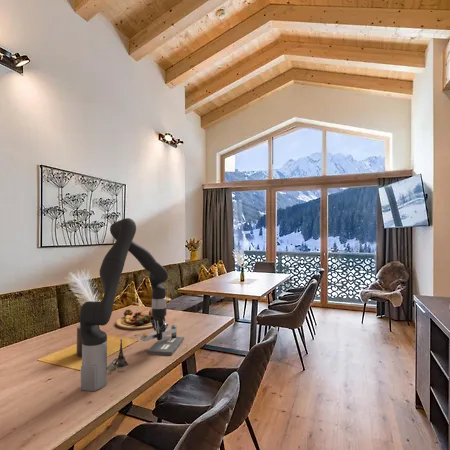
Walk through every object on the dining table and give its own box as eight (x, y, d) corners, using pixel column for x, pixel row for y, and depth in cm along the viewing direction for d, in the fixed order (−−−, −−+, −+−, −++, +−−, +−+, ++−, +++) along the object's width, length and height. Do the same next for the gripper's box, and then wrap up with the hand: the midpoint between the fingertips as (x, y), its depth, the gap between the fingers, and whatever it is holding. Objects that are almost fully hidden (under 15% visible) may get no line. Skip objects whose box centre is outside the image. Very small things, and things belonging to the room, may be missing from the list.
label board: (172, 355, 154) (172, 351, 154) (147, 353, 155) (147, 350, 155) (184, 339, 175) (184, 336, 175) (162, 338, 177) (162, 335, 177)
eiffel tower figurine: (115, 359, 151) (115, 331, 151) (136, 359, 150) (136, 331, 151) (102, 373, 136) (102, 342, 136) (125, 373, 135) (125, 342, 136)
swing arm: (144, 347, 159) (144, 335, 159) (140, 345, 162) (140, 333, 162) (178, 337, 174) (178, 325, 174) (173, 335, 177) (173, 324, 177)
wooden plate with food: (107, 322, 210) (107, 310, 210) (150, 313, 231) (150, 302, 231) (128, 335, 186) (128, 321, 186) (173, 324, 207) (173, 311, 207)
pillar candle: (89, 357, 151) (90, 326, 151) (72, 356, 153) (72, 325, 153) (101, 350, 160) (101, 321, 161) (84, 348, 162) (85, 320, 163)
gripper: (145, 306, 165) (146, 338, 165) (160, 310, 156) (160, 344, 155) (157, 303, 170) (158, 335, 170) (172, 307, 161) (172, 340, 161)
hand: (159, 339), depth 163 cm, fingers closed
